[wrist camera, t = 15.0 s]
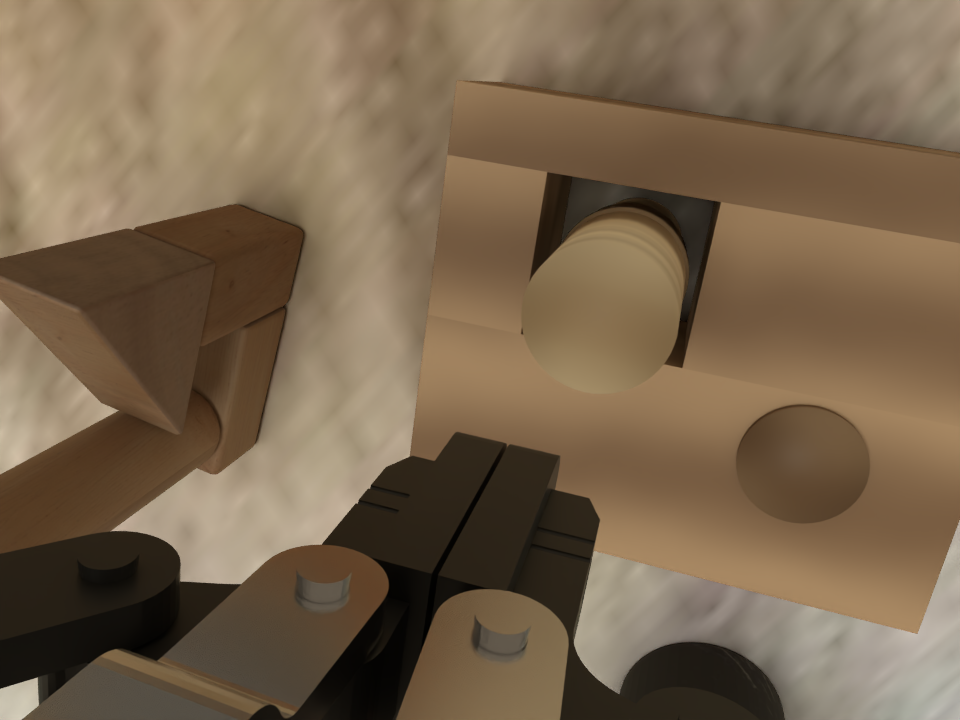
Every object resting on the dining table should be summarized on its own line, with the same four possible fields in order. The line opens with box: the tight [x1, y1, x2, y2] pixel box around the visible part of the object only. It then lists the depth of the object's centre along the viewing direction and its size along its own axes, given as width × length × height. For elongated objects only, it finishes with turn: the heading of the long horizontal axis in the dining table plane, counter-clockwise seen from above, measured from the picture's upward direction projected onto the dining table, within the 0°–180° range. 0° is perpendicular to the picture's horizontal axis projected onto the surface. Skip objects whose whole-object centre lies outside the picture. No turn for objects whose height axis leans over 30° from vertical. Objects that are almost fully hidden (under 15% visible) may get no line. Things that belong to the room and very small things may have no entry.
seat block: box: [410, 80, 960, 634], centre depth 30 cm, size 15×18×6 cm
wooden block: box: [0, 204, 303, 554], centre depth 30 cm, size 4×11×18 cm, turn 163°
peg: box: [521, 198, 689, 394], centre depth 27 cm, size 4×4×12 cm
